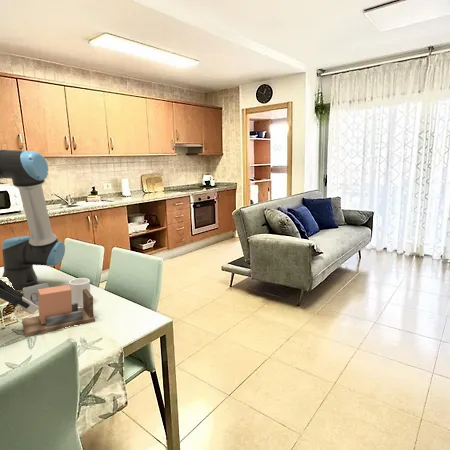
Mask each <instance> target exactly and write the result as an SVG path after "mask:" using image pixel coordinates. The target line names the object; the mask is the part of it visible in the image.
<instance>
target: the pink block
mask: <svg viewBox="0 0 450 450" xmlns="http://www.w3.org/2000/svg"><path fill="white" fill-rule="evenodd" d="M38 301H39V309H38V314H39V315H38V316H39V318H40V321H41V324H46V320H45V317H50V316H55V315H60V314H65V313H70V312H72V297H71V289H70V287H69V284H65V285H64V284H63V285H58V286H52V287H48V288H44V289H38Z"/></svg>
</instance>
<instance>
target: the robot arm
mask: <svg viewBox="0 0 450 450" xmlns="http://www.w3.org/2000/svg"><path fill="white" fill-rule="evenodd" d="M48 175H49V165H48V162H47V160H46V158H45V157H44V155H42V154H41V153H40V152H37V151H32V150H31V151H30V150H27V149H26V150H18V149H17V150H14V149H13V150H11V149H0V180H2V179H9V180H11V182H12V184H13V186H14V187H15V188H17V189H18V191H19V195H20V198H21V202H22V207H23V210H24V214H25V219H26V222H27V226H28V228H29V233H30V236H29V235H23V236H22V235H21V236H16V237H10V238H7V239H4V240H3V241H2V245H1V246H2V247H1V248H2V249H1V251H2V259H3V272H2V276H1V278H2V277H7V278H8V279H9V280H10V282H11V283H12V286H13V288H14V289H20V290H23V288H26V287H30V286H34V285H38V283H39V280H38V276H37V273H36V272H35V269H34V266H47V267H50V266H52V267H54V266H58V265H59V264H61V263H62V261H63V259H64V256H65V252H66V244H65V243H64V241H61V240H59V239H58V236H57V234H55V233H53V229H52V224H51V221H50V216H49V212H48V207H47V203H46V199H45V195H44V190H43V189H44V188H43V185H44V184H45V182H46V179H47V178H48ZM13 288H12V287H10V286H9V285H7V284H6V283H4V282H3V281H2V280H1V279H0V299H1V300H3V301H5V302H7V303H9V304H11V305H13V306H14V307H15V308H16V307H17V306H18V307H20V308H22V309H24V310H25V311H27V312H29V313H30V314H32V315H34V314H35V313H36V312H37V311H39V307H38V306H37V305H35V304H34V303H32V302H30V301H29V300H27V299H26V298H24V297H23V295H24V294H23V292H22V293H20V291H18V290H14V289H13Z"/></svg>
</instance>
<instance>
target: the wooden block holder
mask: <svg viewBox="0 0 450 450" xmlns="http://www.w3.org/2000/svg"><path fill="white" fill-rule="evenodd" d="M45 320H46V324H41V321H40V318H39V315H36V316H31V317H25V318H22V319H21V324H22V329H23V332H24V338H28V337H33V336H37V335H43V334H47V333H51V332H54V331H59V329H60V330H63V329H62V328H64V329H66V328H65V327H69V326H73V327H75V326H74V325H78V326H81V325H80V324H82V325H86V324H90V323H95V322H96V317H95V316H94V296H93V295H92V294H91V291H90V292H89V291H88V290H87V289H83V306H81V307H78V303H77V302H76V303H72V312H70V313H65V314H60V315H55V316H50V317H45ZM69 328H70V327H69Z"/></svg>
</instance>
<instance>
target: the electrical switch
mask: <svg viewBox="0 0 450 450" xmlns="http://www.w3.org/2000/svg"><path fill="white" fill-rule="evenodd" d="M44 288H49V285H48V283H46V282H45V283H40V284H36V285H34V286H30V287H26V288H23V289H21V290H22V293H23V294H24V295H23V296H22V297H24V298H26V299H27V300H29V301H30V302H32V303H34V304H35V305H37V306H38V307H39V301H38V289H44Z"/></svg>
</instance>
